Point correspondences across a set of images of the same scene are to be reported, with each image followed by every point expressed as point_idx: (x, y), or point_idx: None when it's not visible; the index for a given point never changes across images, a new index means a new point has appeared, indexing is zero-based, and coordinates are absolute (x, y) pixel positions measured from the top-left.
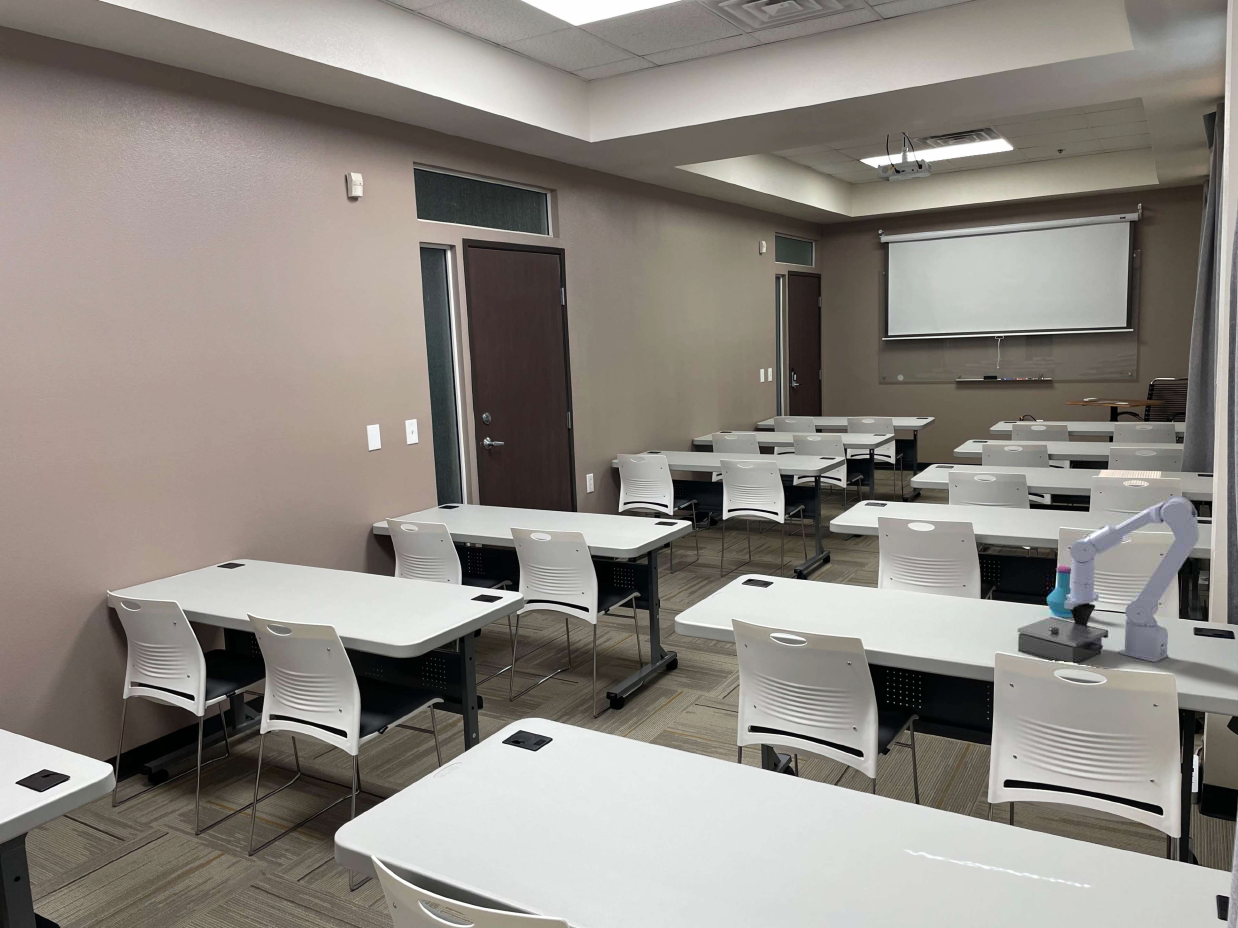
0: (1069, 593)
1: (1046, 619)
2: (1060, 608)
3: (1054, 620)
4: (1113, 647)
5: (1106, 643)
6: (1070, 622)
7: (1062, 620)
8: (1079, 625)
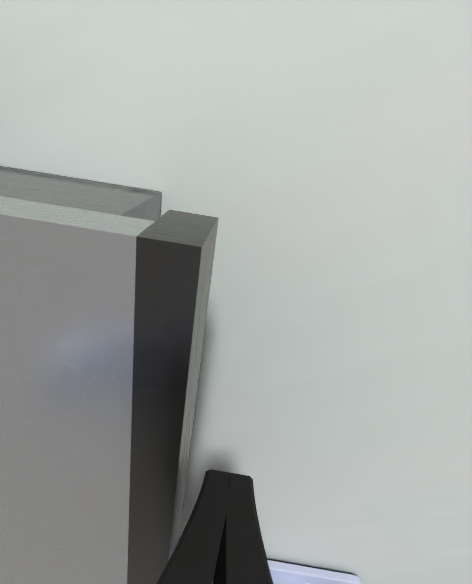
0: None
1: (4, 241)
2: None
3: (62, 349)
4: (304, 521)
5: (361, 488)
6: (136, 502)
7: (145, 425)
8: (105, 571)
